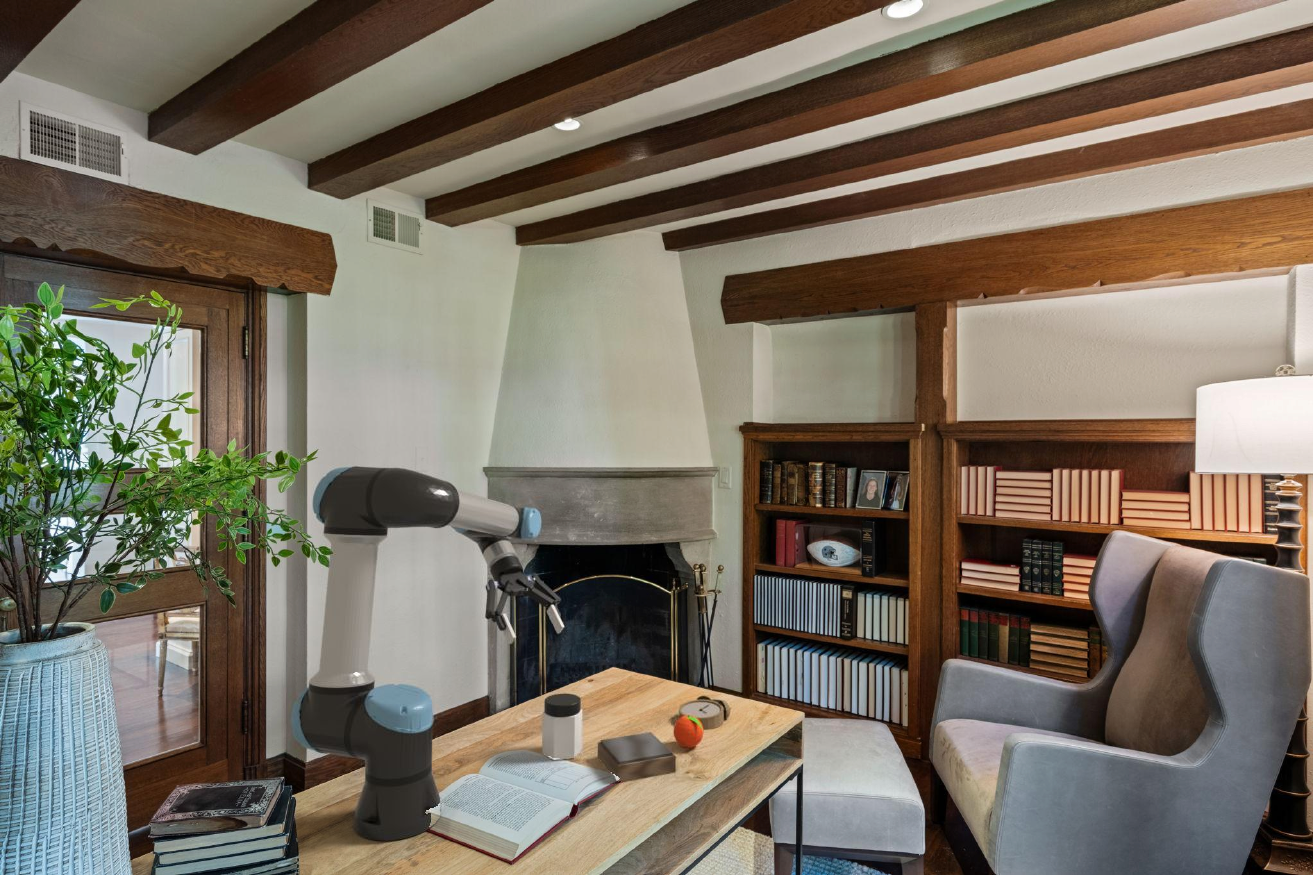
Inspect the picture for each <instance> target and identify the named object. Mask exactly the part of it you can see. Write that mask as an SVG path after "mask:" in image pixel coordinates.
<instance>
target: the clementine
mask: <svg viewBox="0 0 1313 875" xmlns="http://www.w3.org/2000/svg"><path fill="white" fill-rule="evenodd" d="M704 731H705V730H703V726H702V724H701V722H700V721H699V720H698V719H697V718H696V717H694V716H691V715H686V716H683V717H681V718H679V719H678V720H676V721H675V724H674V725H673V737H674V738H675V741H676V743H677V744H679V745H680V746H681V747H683V748H688V749H689V748H690V749H691V748H694V747H696V746H698V745H699V744H700V742H702V739H703V737H704Z"/></svg>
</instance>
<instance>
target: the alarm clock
mask: <svg viewBox="0 0 1313 875" xmlns="http://www.w3.org/2000/svg"><path fill="white" fill-rule="evenodd" d="M731 710H732V707H730V705H729V703H728V702H727V701H726V700H723V699H718V698H717V699H716V698H713V699H712V698H711V697H710V696H707V695H704V694H703V695H699V696H698V697H697V698H696V699H694V700H693V699H692V700H689V701H685V702H684V703H682V704H681V705H679V707H678V717H676V718H675V721H677V720H678V719H679V718H681V717H683V716H686V715H691V716H694V717H696V718H697V719H698V720H699V721H700V722H701V724H702V726H703V731H705V730H706V731H707V730H715V729H717V728H719V727H720V726H722V725H723V724H724V720H727V719H729V717H730V715H731ZM725 717H726V718H725Z"/></svg>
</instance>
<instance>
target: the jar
mask: <svg viewBox="0 0 1313 875" xmlns="http://www.w3.org/2000/svg"><path fill="white" fill-rule="evenodd" d="M581 703H582V699H581V697H580V696H578V695H576V694H573V693H554V694H551V695H548V696H547V697H545V699H544V708H543V710H544V711H543V712H542V713H541V714H542V720H541V721H542V722H541V724H542V725H541V727H542V729H541V733H542V734H541V735H542V738H541V739H542V741H541V742H542V744H541V745H542V746H541V754H542V755H543V754H545V755H546V756H551V757H552V758H560V759H567V760H570V759H569V758H574V759H576V757H577V756H578V755H580V753H581V752H582V751H583V709H582V705H581ZM577 754H578V755H577ZM545 755H544V756H545ZM546 756H545V757H546ZM575 756H576V757H575Z"/></svg>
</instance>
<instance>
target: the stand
mask: <svg viewBox="0 0 1313 875" xmlns="http://www.w3.org/2000/svg"><path fill="white" fill-rule="evenodd" d="M598 758H599V759H600V760H601V761H600V760H599V759H598ZM597 759H598V760H599V761H600V763H601V762H602V763H603V764H604V765H605V766H604V765H603V764H602V763H601V764H602V765H603V766H604V768H605V769H606V768H607V769H608V770H609V771H610V772H612V774H615V775H616V776H618V777H619V778H620V779H621V781H622V782H621V783H624V782H631V781H635V780H640V779H646V778H651V777H652V778H653V777H657V776H663V775H667V774H672V773H676V771H677V768H676V766H677V765H676V764H677V763H676V762H677V760H676V759H677V756H676V755H675V754H674V753H673V751H672V750H670V748H668V747H667V746H666V744H664V743H663V742H662V741H661V740H660V739H658V737H656V735H654V734H653V732H651V731H650V732H643V733H637V734H631V735H625V736H618V737H613V738H607V739H600V741H599V742H597ZM607 769H606V770H607ZM608 770H607V771H608ZM609 771H608V772H609ZM610 772H609V773H610Z"/></svg>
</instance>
